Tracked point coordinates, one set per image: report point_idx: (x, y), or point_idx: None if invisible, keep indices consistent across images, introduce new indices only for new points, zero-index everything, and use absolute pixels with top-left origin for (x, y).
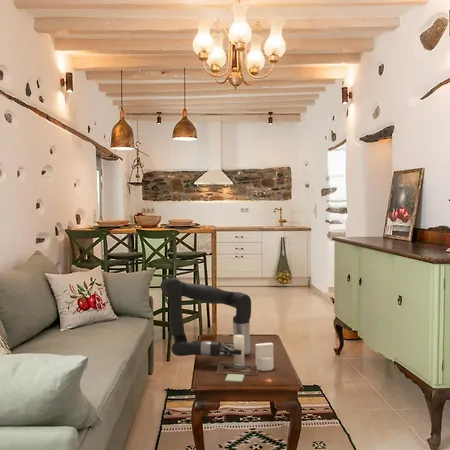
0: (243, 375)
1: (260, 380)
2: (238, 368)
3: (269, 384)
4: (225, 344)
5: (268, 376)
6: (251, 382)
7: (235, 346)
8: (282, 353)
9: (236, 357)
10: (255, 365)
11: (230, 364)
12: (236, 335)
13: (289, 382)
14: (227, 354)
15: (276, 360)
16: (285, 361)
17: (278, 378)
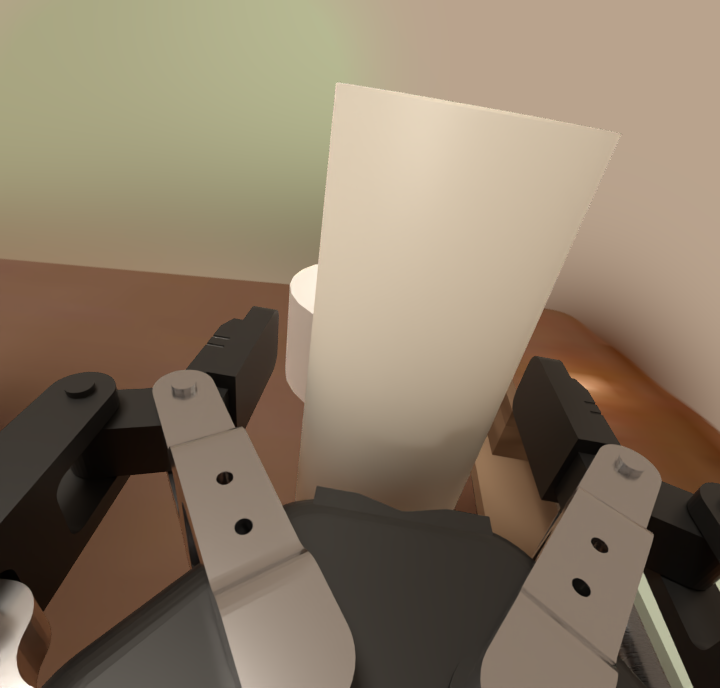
0: None
1: (618, 423)
2: None
3: (649, 392)
4: (280, 642)
5: (520, 378)
6: (701, 480)
7: (513, 371)
8: (77, 266)
9: (454, 506)
10: (512, 383)
11: (650, 646)
12: (428, 100)
13: (561, 325)
14: (700, 640)
15: (209, 305)
16: (242, 283)
17: (530, 347)
